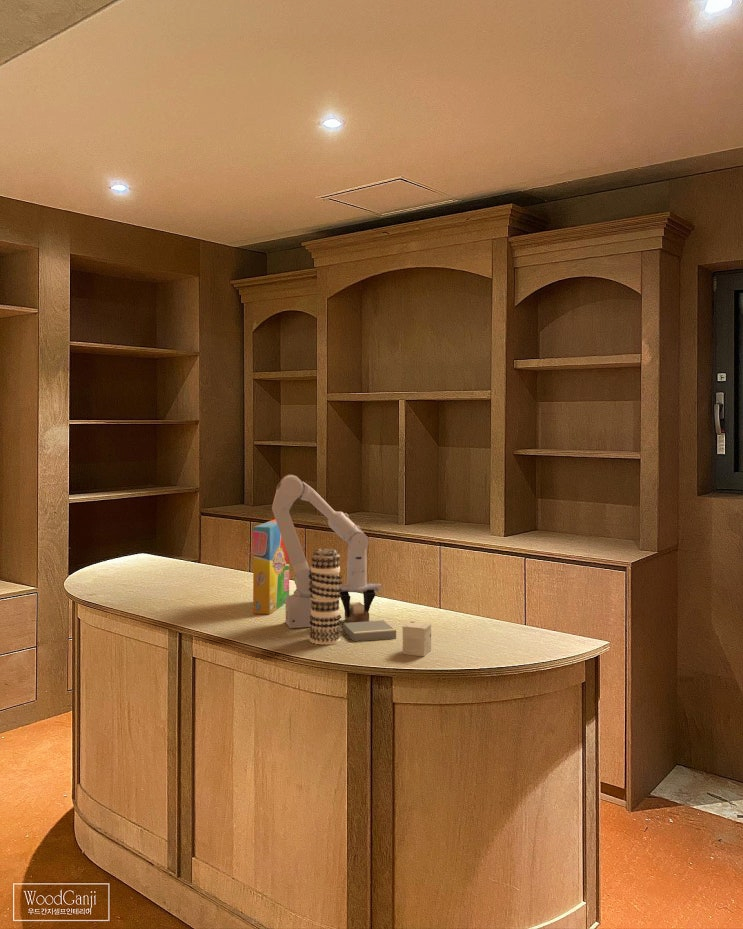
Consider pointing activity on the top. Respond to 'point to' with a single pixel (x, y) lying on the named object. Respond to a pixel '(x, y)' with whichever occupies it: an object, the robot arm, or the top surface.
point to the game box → (269, 568)
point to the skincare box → (417, 638)
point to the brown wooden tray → (358, 617)
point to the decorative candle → (325, 597)
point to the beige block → (356, 607)
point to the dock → (369, 630)
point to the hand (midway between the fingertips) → (356, 615)
